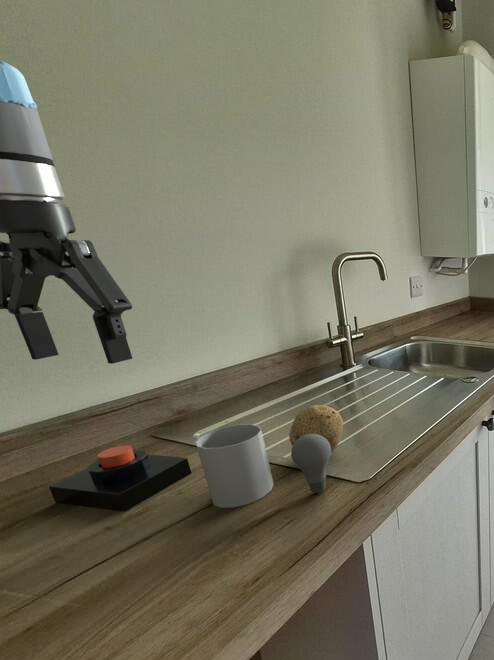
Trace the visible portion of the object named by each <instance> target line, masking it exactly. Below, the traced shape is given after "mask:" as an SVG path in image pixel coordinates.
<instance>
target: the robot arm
mask: <svg viewBox="0 0 494 660" xmlns="http://www.w3.org/2000/svg"><path fill="white" fill-rule="evenodd" d="M65 199H66V197H65V194H64V190H63V187H62V185H61V181H60V178H59V176H58V173H57V170H56V167H55V163H54V159H53V156H52V152H51V149H50V146H49V143H48V140H47V137H46V133H45V131H44V127H43V124H42V121H41V117H40V115H39V111H38V104H36V102H35V101H34V99H33V96H32V93H31V91H30V89H29V85H28V84H27V81H26V77H25V76H24V74H22V73H21V71H20V70H19V69H18V68H16V67H15V66H13V65H11V64H10V63H7V62H5V61H3V60H1V59H0V234H6V235H7V236H8V240H0V310H7V311H8V313H9V314H11V315H13V316H14V317H15V320H16V322H17V326H18V328H19V330H20V333H21V335H22V337H23V339H24V342H25V344H26V347H27V350H28V352H29V354H30V357H31V359H32V360H41V359H45V358H50V357H55V356H59V355H60V354H59V352H58V349H57V346H56V344H55V341H54V338H53V336H52V333H51V331H50V328H49V325H48V323H47V320H46V317H45V315H44V312H43V309H42V307H40V306H39V302H40V299H41V298H40V297H41V295H42V292H43V287H44V284H45V281H46V278H47V277H48V278H49V277H50V276H54V277H55V278H57V279H60V280H62V281H63V282H64V283H65V284H66V285H67V286H68V287H69V288H70V289H71V290H72V291H73V292H74V293H75V294H76V295H78V297H80V299H81V300H82V301H83V302H84V303H85V304H86V305H87V306H88V307H90V308H91V309H92V311H94V312H93V314H92V320H93V323H94V326H95V328H96V331H97V334H98V337H99V340H100V343H101V346H102V349H103V353H104V356H105V358H106V361H107V364H110V365H111V364H117V363H121V362H125V361H128V360H133V355H132V353H131V349H130V346H129V343H128V339H127V331H126V328H125V326H124V322H123V319H122V314H123V313H124V312H126V311H128V310H129V311H130V310H132V309H133V305H132V302H131V301H130V300H129V299H128V297H127V295H126V294H125V293H124V291H123V290H122V288H121V287H120V286H119V284H118V283H117V282H116V280H115V279H114V277H113V276H112V275H111V273H110V272H109V270H108V269H107V268H106V265H104V263H103V262H102V261H101V259H100V257H99V256H98V253H97V251H96V248H95V246H94V243H93V242H92V241H91V240H89V239H70V237H69V235H70V234H75V233H76V231H77V228H76V225H75V222H74V219H73V216H72V213H71V210H70V208H69V206H67V205H66V204H64V203H61V202H60V201H64V200H65Z"/></svg>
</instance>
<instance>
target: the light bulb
mask: <svg viewBox="0 0 494 660" xmlns="http://www.w3.org/2000/svg"><path fill="white" fill-rule="evenodd" d="M290 451H291V452H290V456H291V457H290V458H291V460H292V462H293V463H294V465H295V466H296V467H297V468H298V469H299V470H301V471H302V473H303V475H304V478H305V480H306V482H307V483H308V486H309V490H310V492H311V493H314V494H321V493H322V492H323V491H325V490H326V488H327V482H326V478H327V466H328V463H329V461H330V458H331V455H332V453H331V446H330V443H329V442H328V440H327V439H325V438H324V437H323V436H321V435H317V434H308V435H304V436H302V437H300V438H299V439H298V440H297V441H296V442H295V443H294V445H292V447H291V449H290Z"/></svg>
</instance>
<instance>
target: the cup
mask: <svg viewBox="0 0 494 660" xmlns="http://www.w3.org/2000/svg"><path fill="white" fill-rule="evenodd" d="M195 446H196V449H197V453H198V457H199V461H200V464H201V466H202V470H203V475H204V477H205V482H206V484H207V487H208V491H209V494H210V498H211V501H212V504H213V506H216V507H218V508H221V509H227V508H229V509H230V508H238V507H242V506H246V505H249V504H252V503H254V502H256V501H258V500H260V499H263V498H264V497H265V496H267V495H268V494H269V493H270V492H272V489H273V488H274V485H275V484H274V480H273V475H272V471H271V467H270V462H269V458H268V452H267V449H266V443H265V439H264V435H263V431H262V428H261V427H260V426H259V425H256V424H251V423H248V424H247V423H244V424H234V425H229V426H224V427H220V428H217V429H214V430H211V431H208V432H207V433H205V434H203V435H200V437H199V438H197V439H196V440H195Z"/></svg>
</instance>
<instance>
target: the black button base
mask: <svg viewBox="0 0 494 660" xmlns="http://www.w3.org/2000/svg"><path fill="white" fill-rule="evenodd" d="M132 450H133V453H134V456H135V459H134V460H132V461H130V462H128V463H126V464H123V465H119V466H116V467H109V468H102V467H101V464H100V462H99V459H97V460H95V461H93V462H92V463H90V464H89V465H88V466H87V468H86V469H84V470H82V471H79V472H77V473H75V474H73V475H71V476H68V477H66V478H64V479H61V480H60V481H57V482H54V483H52V484H50V485H49V486H48V489H49V491H50V493H51V495H52V498H53V500H54V502H55V504H61V505H68V506H69V505H70V506H75V507H83V508H92V509H100V510H107V511H108V510H109V511H116V512H123V513H125V512H127V511H129V510H130V509H132V508H134V507H136V506H138V505H139V504H141V503H142V502H144V501H146V500H148V499H150V498H151V497H153V496H155V495H156V494H158V493H160V492H162V491H163V490H166V489H167V488H169V487H171V486H172V485H174V484H175V483H177V482H179V481H181V480H183V479H184V478H186V477H188V476H189V475H191V474H192V470H191V466H190V463H189V460H188V459H189V458H187V457H180V456H171V455H170V456H169V455H158V454H148V453H147V452H146V451H145V450H142V449H141V450H140V449H132Z"/></svg>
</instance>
